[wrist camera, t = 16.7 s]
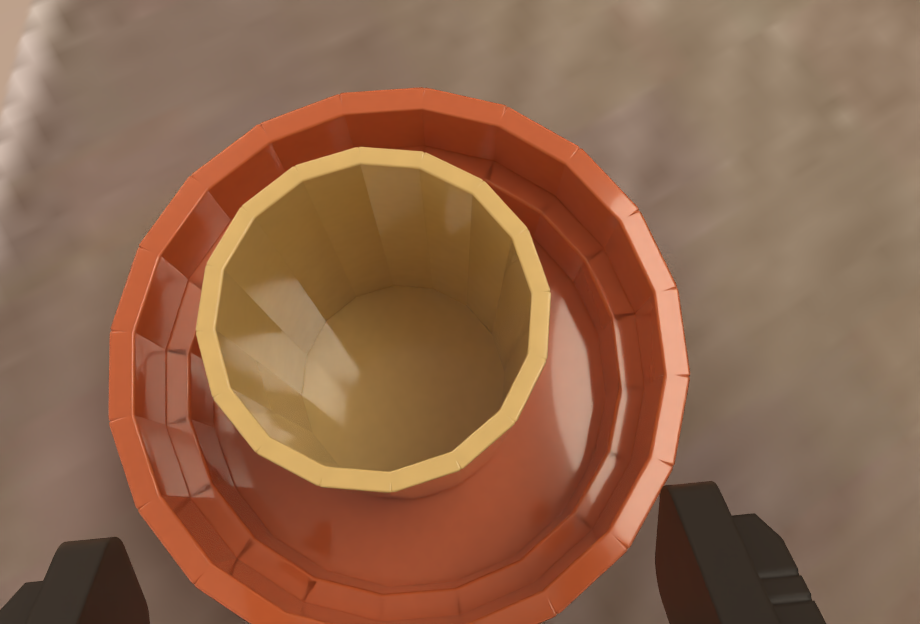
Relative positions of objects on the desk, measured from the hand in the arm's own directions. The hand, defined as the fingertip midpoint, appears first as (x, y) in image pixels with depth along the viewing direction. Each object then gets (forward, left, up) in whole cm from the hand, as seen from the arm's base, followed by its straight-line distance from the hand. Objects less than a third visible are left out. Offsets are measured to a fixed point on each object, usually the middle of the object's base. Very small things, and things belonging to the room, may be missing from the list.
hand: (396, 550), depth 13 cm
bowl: (-2, -3, -11) cm, 12 cm away
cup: (-2, -3, -10) cm, 11 cm away
